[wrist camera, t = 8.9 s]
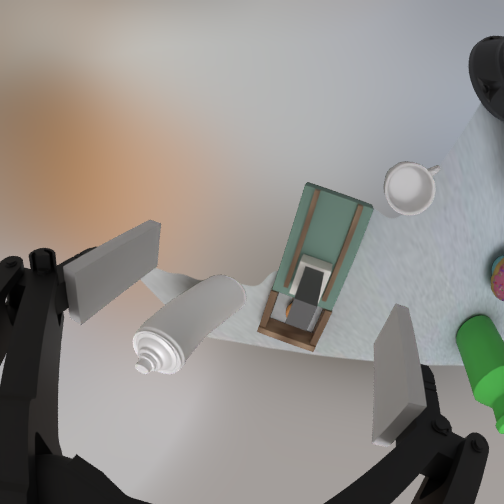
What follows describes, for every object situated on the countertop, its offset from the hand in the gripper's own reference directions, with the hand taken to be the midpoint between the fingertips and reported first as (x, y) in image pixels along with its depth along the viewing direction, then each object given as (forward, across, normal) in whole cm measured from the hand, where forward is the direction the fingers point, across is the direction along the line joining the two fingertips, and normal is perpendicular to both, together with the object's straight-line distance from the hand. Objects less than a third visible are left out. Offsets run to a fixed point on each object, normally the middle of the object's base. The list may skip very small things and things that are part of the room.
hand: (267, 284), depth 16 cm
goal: (+36, +2, -24) cm, 43 cm away
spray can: (+36, -14, -27) cm, 47 cm away
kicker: (+33, +3, -15) cm, 36 cm away
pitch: (+36, +3, -11) cm, 37 cm away
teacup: (+36, +13, +4) cm, 39 cm away
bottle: (+36, +38, -17) cm, 56 cm away
